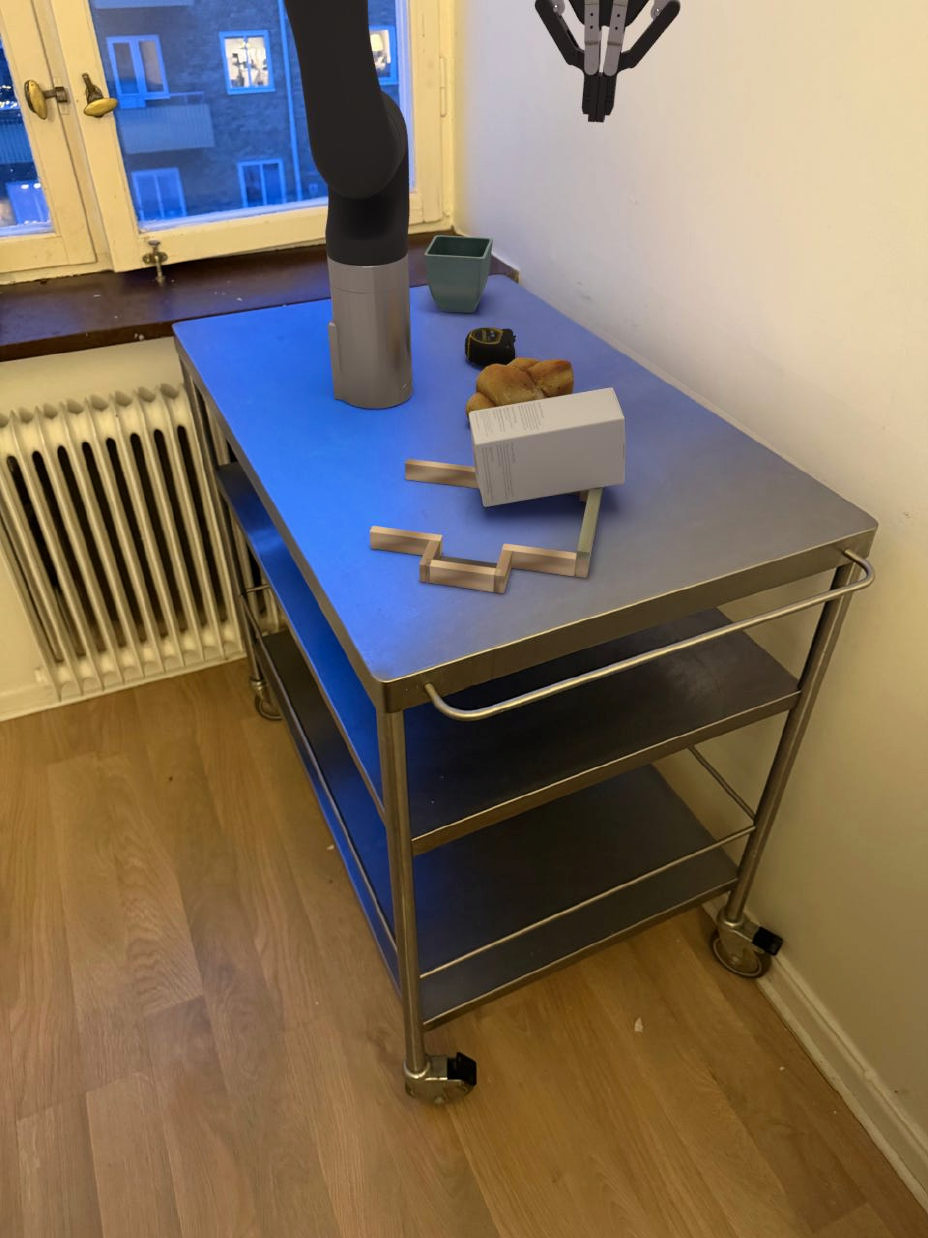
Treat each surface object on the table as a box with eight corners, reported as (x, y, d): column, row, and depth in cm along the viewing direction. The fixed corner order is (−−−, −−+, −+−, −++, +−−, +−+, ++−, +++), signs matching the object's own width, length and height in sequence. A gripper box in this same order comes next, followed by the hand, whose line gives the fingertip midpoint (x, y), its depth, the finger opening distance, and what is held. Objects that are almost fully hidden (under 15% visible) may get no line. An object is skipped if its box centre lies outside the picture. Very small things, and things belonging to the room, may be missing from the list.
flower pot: (424, 316, 130) (423, 253, 124) (435, 294, 137) (435, 233, 131) (483, 320, 129) (484, 257, 123) (491, 298, 136) (493, 237, 130)
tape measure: (514, 373, 116) (516, 346, 114) (463, 372, 116) (463, 344, 114) (515, 352, 121) (516, 325, 119) (465, 350, 121) (465, 323, 119)
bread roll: (475, 443, 102) (476, 379, 97) (451, 405, 109) (451, 343, 104) (578, 428, 105) (584, 364, 100) (548, 392, 112) (553, 331, 107)
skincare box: (474, 474, 93) (612, 452, 93) (482, 510, 89) (626, 487, 89) (466, 407, 87) (614, 383, 87) (475, 442, 83) (630, 417, 83)
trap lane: (358, 572, 83) (356, 547, 81) (422, 445, 101) (422, 421, 99) (581, 604, 80) (584, 578, 78) (606, 467, 98) (610, 443, 96)
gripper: (530, -126, 68) (519, 125, 80) (703, -124, 66) (667, 134, 77) (544, -127, 74) (532, 108, 85) (705, -125, 72) (670, 115, 83)
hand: (596, 120), depth 81 cm, fingers closed
